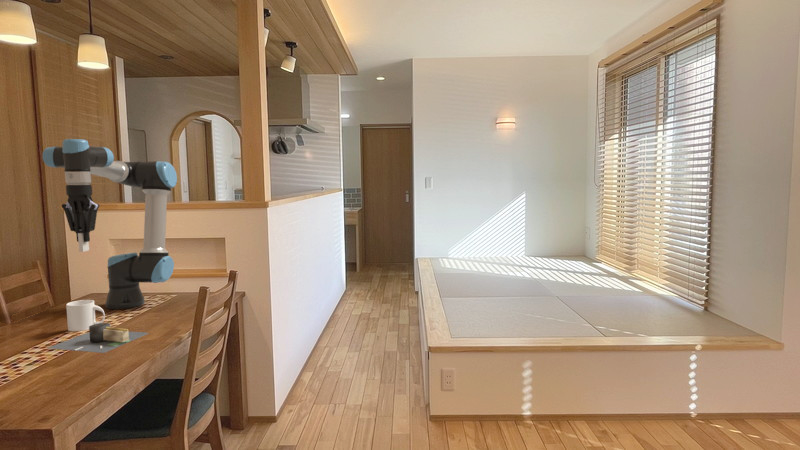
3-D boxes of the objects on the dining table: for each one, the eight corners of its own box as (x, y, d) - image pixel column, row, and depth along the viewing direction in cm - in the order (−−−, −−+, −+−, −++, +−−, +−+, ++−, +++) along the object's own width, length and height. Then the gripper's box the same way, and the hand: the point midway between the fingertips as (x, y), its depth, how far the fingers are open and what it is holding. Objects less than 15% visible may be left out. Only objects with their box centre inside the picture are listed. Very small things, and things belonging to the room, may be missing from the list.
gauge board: (97, 332, 173) (97, 328, 173) (149, 336, 169) (149, 332, 169) (46, 351, 154) (46, 347, 154) (104, 356, 150) (104, 352, 149)
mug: (101, 332, 173) (99, 304, 172) (64, 335, 170) (62, 306, 169) (109, 325, 182) (107, 298, 180) (73, 328, 178) (71, 300, 177)
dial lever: (85, 341, 159) (84, 327, 159) (101, 336, 165) (100, 322, 165) (120, 346, 155) (120, 331, 155) (135, 340, 161) (134, 325, 160)
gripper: (52, 184, 161) (58, 252, 164) (87, 184, 159) (92, 253, 162) (70, 183, 169) (76, 248, 171) (103, 183, 167) (108, 249, 170)
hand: (84, 250), depth 167 cm, fingers closed
